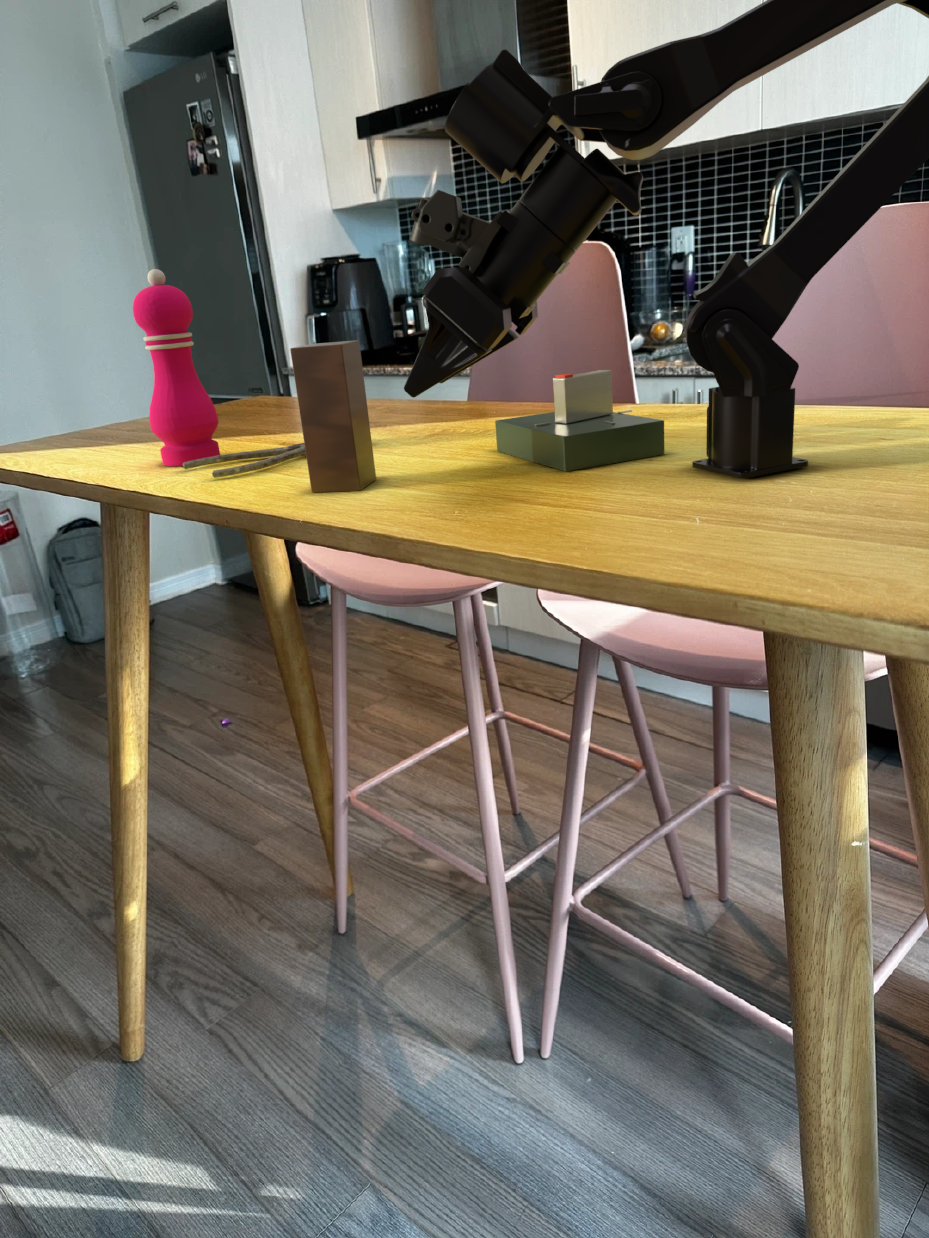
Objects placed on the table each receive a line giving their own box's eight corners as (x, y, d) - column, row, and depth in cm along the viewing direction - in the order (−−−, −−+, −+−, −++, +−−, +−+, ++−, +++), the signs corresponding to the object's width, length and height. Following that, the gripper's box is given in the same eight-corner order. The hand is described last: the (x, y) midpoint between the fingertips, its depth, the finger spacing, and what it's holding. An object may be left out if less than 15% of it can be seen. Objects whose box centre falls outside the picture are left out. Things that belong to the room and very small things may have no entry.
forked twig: (167, 465, 91) (317, 431, 105) (168, 473, 91) (319, 438, 105) (219, 471, 85) (372, 434, 98) (221, 480, 85) (373, 442, 99)
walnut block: (376, 479, 79) (359, 340, 75) (360, 490, 75) (341, 344, 71) (329, 481, 80) (310, 344, 76) (311, 492, 76) (289, 348, 72)
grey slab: (601, 413, 84) (599, 367, 83) (613, 414, 83) (611, 367, 82) (554, 423, 81) (552, 375, 80) (566, 424, 80) (564, 375, 78)
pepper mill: (189, 468, 94) (149, 267, 87) (144, 466, 98) (103, 273, 91) (238, 455, 99) (205, 265, 93) (194, 454, 103) (159, 271, 96)
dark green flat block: (675, 452, 79) (674, 416, 78) (565, 471, 75) (563, 434, 74) (594, 435, 91) (593, 404, 90) (497, 451, 87) (494, 419, 86)
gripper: (489, 165, 75) (382, 315, 81) (437, 135, 58) (306, 327, 64) (587, 255, 75) (473, 396, 82) (564, 252, 59) (423, 430, 65)
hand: (423, 386), depth 73 cm, fingers open, 9 cm apart
